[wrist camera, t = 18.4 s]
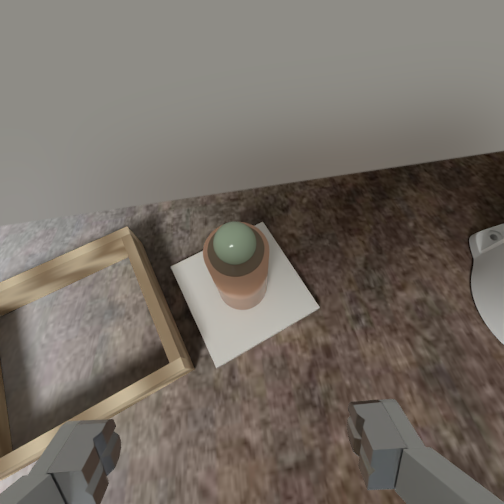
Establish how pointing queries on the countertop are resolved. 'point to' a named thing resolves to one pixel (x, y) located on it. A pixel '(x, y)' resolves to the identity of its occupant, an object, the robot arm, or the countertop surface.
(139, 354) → the countertop surface
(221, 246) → the peach bottle
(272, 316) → the paving tile
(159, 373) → the brown wooden rectangular frame
